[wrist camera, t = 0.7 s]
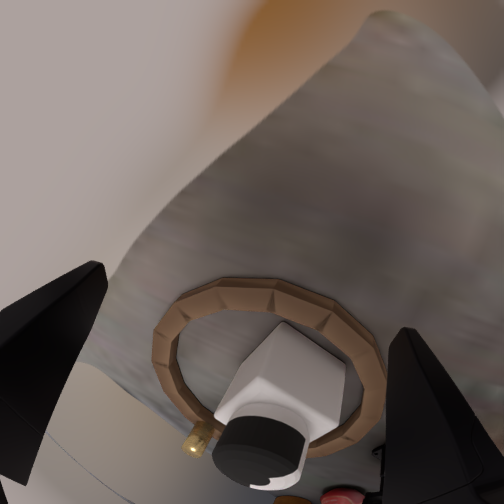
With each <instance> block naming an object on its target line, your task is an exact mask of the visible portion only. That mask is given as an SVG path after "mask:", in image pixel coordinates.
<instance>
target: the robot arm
mask: <svg viewBox="0 0 504 504" xmlns="http://www.w3.org/2000/svg"><path fill="white" fill-rule="evenodd" d="M107 289H108V281H107V276H106V272H105V267H104V265H103V263H100V262H97V261H89V262H87V263H85V264H83V265H81V266H79V267H77V268H75V269H73V270H72V271H70V272H68V273H66V274H64V275H62V276H60V277H59V278H57V279H55V280H53V281H51V282H50V283H48V284H46V285H44V286H42V287H41V288H39V289H37V290H35V291H33V292H32V293H30V294H28V295H26V296H25V297H23V298H21V299H19V300H18V301H16V302H14V303H13V304H11V305H9V306H7V307H6V308H4V309H3V310H1V312H0V474H1V475H3V476H5V477H7V478H9V479H11V480H13V481H15V482H17V483H20V484H22V485H24V486H26V485H27V483H28V479H29V476H30V473H31V470H32V467H33V464H34V461H35V458H36V456H37V452H38V450H39V447H40V445H41V442H42V439H43V436H44V433H45V431H46V428H47V425H48V423H49V421H50V418H51V416H52V413H53V411H54V408H55V406H56V404H57V401H58V399H59V397H60V394H61V392H62V390H63V388H64V385H65V383H66V381H67V379H68V376H69V374H70V372H71V370H72V368H73V365H74V364H75V362H76V359H77V357H78V355H79V353H80V351H81V349H82V347H83V345H84V343H85V341H86V339H87V337H88V335H89V333H90V331H91V329H92V326H93V324H94V321H95V319H96V316H97V314H98V311H99V309H100V306H101V304H102V301H103V299H104V296H105V294H106V292H107ZM372 455H373V456H374V457H376V458H378V459H379V460H381V469H380V477H381V482H380V491H379V492H372V493H371V492H367V493H366V494H365V498H364V499H363V502H362V504H504V456H503V455H502V454H501V452H500V451H499V449H498V448H497V447H496V445H495V444H494V442H493V441H492V439H491V438H490V437H489V435H488V433H487V432H486V430H485V429H484V427H483V426H482V424H481V423H480V421H479V419H478V418H477V416H475V413H474V412H473V410H472V409H471V407H470V406H469V404H468V402H467V401H466V399H465V398H464V396H463V395H462V393H461V392H460V390H459V389H458V387H457V386H456V385H455V383H454V382H453V380H452V379H451V377H450V376H449V374H448V373H447V371H446V370H445V369H444V367H443V366H442V364H441V363H440V362H439V360H438V359H437V357H436V356H435V355H434V353H433V352H432V351H431V349H430V348H429V346H428V345H427V344H426V342H425V341H424V340H423V338H422V337H421V336H420V334H419V333H418V332H417V330H416V329H414V328H408V327H403V328H401V329H400V331H399V332H398V334H397V335H396V337H395V338H394V339H393V341H392V342H391V344H390V346H389V353H388V371H387V385H386V444H385V445H383V446H381V447H379V448H377V449H375V450H373V451H372ZM0 504H8V502H7V499H6V496H5V493H4V490H3V487H2V484H1V481H0Z"/></svg>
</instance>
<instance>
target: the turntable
mask: <svg viewBox="0 0 504 504" xmlns="http://www.w3.org/2000/svg"><path fill="white" fill-rule="evenodd" d="M224 309H225V310H240V311H256V312H271V313H274V314H276V315H279V316H281V317H284V318H286V319H289V320H292V321H294V322H297V323H299V324H302V325H304V326H307V327H310V328H312V329H315V330H318V331H319V332H320V333H321V334H322V335H323V336H325V337H326V338H327V339H328V340H329V341H331V342H332V343H333V344H334V345H335V346H336V347H338V348H339V349H340V350H341V351H342V352H344V353H345V354H346V355H347V356H348V357H350V358H351V360H352V362H353V364H354V366H355V369H356V371H357V373H358V375H359V378H360V380H361V382H362V384H363V387H364V389H363V396H362V402H361V405H360V406H359V407H358V408H357V410H356V411H355V412H354V413H353V414H352V416H351V417H350V418H349V419H348V420H347V421H346V423H345V424H344V425H342V426H340V427H338V428H336V429H334V430H331V431H330V432H328V433H326V434H324V435H323V436H321V437H319V438H317V439H315V440H314V441H312V442H310V443H309V446H308V450H307V454H306V458H313V457H322V456H327V455H329V454H332V453H334V452H337V451H339V450H341V449H344V448H346V447H349V446H351V445H353V444H355V443H357V442H358V441H359V440H360V439H362V438H363V437H364V436H365V434H366V433H367V432H368V431H369V430H370V429H371V428H372V427H373V426H374V425H375V424H376V423H377V422H378V421H379V420H380V419H381V415H382V411H383V406H384V402H385V398H386V385H387V371H386V368H385V365H384V363H383V360H382V357H381V355H380V352H379V350H378V347H377V344H376V342H375V339H374V337H373V335H372V334H371V333H370V332H368V331H367V330H366V329H365V328H364V327H363V326H362V325H361V324H360V323H359V322H357V321H356V320H355V319H354V318H353V317H352V316H351V315H350V314H349V313H348V312H346V311H345V310H344V309H343V308H342V307H341V306H340V305H339V304H338V303H336V302H335V301H334V300H331V299H329V298H326V297H324V296H321V295H318V294H316V293H313V292H311V291H308V290H305V289H303V288H300V287H298V286H295V285H292V284H290V283H287V282H285V281H282V280H280V279H251V278H221V279H219V280H216V281H214V282H211V283H209V284H207V285H204V286H202V287H199V288H197V289H194V290H192V291H189V292H187V293H184V294H182V295H181V296H180V297H179V298H178V299H177V300H176V301H175V302H174V304H173V305H172V306H171V307H170V309H169V310H168V311H167V313H166V314H165V315H164V317H163V318H162V319H161V321H160V322H159V323H158V325H157V326H156V327H155V329H154V332H153V346H152V363H153V366H154V368H155V371H156V374H157V376H158V379H159V381H160V384H161V386H162V389H163V391H164V392H165V394H166V395H167V396H168V397H169V399H170V400H171V401H172V402H173V403H174V405H175V406H176V407H177V408H178V409H179V410H180V412H181V413H182V414H183V415H184V416H185V417H186V418H187V419H188V420H189V421H191V422H192V423H193V424H195V425H194V427H193V429H192V430H191V432H190V434H189V435H188V437H187V439H186V440H185V442H184V444H183V445H182V447H181V448H182V450H183V451H184V452H185V453H186V454H188V455H189V456H192V457H195V458H200V457H201V456H202V454H203V452H204V451H205V449H206V447H207V445H208V443H209V441H210V439H211V438H212V437H213V438H215V439H216V440H219V438H220V436H221V435H222V433H223V431H224V429H225V427H226V425H225V424H223V423H221V422H220V421H218V420H217V419H215V417H214V414H212V413H211V412H210V411H208V410H207V409H206V408H204V407H203V406H202V405H201V404H200V403H199V401H198V400H197V399H196V398H195V396H194V395H193V394H192V393H191V391H190V390H189V389H188V388H187V386H186V385H185V384H184V381H183V379H182V376H181V373H180V370H179V367H178V364H177V361H176V351H177V344H178V338H179V332H180V331H181V330H182V329H183V328H184V327H185V326H186V324H187V323H188V322H189V321H191V320H194V319H197V318H200V317H203V316H206V315H209V314H212V313H215V312H218V311H221V310H224Z"/></svg>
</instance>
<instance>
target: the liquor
mask: <svg viewBox="0 0 504 504" xmlns="http://www.w3.org/2000/svg"><path fill="white" fill-rule="evenodd" d="M364 498H365V496H364V495H362V494H361V493H360V492H359V491H357V490H355V489H352V488H335V489H332V490H331V491H329V492H327V493H326V494H324V495H322V496H321V497H320V501H321V503H322V504H362V502H363V499H364Z"/></svg>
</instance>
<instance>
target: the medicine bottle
mask: <svg viewBox="0 0 504 504" xmlns="http://www.w3.org/2000/svg"><path fill="white" fill-rule="evenodd" d="M345 373H346V364H345V363H343V362H342V361H340V360H339V359H337V358H336V357H334V356H333V355H332V354H330V353H329V352H327V351H326V350H324V349H323V348H321V347H320V346H318V345H317V344H316V343H314V342H313V341H311V340H310V339H308V338H307V337H305V336H304V335H303V334H301V333H300V332H298V331H297V330H295V329H294V328H293V327H291V326H290V325H288V324H287V323H285V322H281V323H280V324H279V325H278V326H277V327H276V328H275V329H274V330H273V331H272V332H271V333H270V334H269V336H268V337H267V338H266V339H265V340H264V341H263V342H262V343H261V344H260V345H259V346H258V347H257V348H256V349H255V350H254V351H253V352H252V353H251V354H250V355H249V356H248V357H247V359H246V360H245V361H244V362H243V363H242V364H241V365H240V367H239V369H238V371H237V373H236V375H235V376H234V378H233V380H232V382H231V384H230V386H229V388H228V389H227V391H226V393H225V395H224V397H223V399H222V401H221V402H220V404H219V406H218V408H217V410H216V411H215V413H214V417H215V419H217V420H218V421H220V422H221V423H223V424H225V425H226V427H225V429H224V431H223V433H222V435H221V436H220V438H219V440H218V442H217V444H216V446H215V448H214V450H213V452H212V457H213V461H214V463H215V465H216V467H217V468H218V469H219V470H220V471H221V472H222V473H223V474H224V475H226V476H227V477H229V478H230V479H231V480H233V481H235V482H237V483H239V484H241V485H244V486H247V487H250V488H255V489H260V490H281V489H286V488H289V487H291V486H292V485H294V484H295V483H297V482H298V481H299V479H300V476H301V473H302V469H303V465H304V462H305V458H306V454H307V450H308V446H309V443H310V442H312V441H314V440H315V439H317V438H319V437H321V436H323V435H324V434H326V433H328V432H330V431H331V430H333V429H335V428H337V427H338V425H339V419H340V413H341V406H342V398H343V390H344V382H345Z"/></svg>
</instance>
